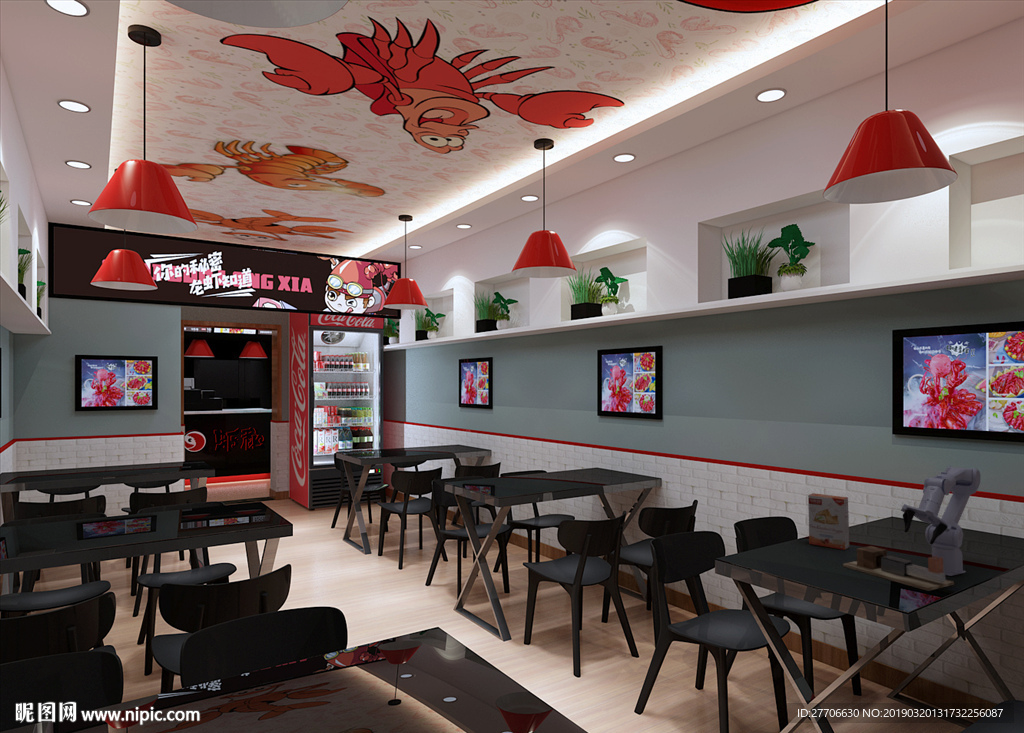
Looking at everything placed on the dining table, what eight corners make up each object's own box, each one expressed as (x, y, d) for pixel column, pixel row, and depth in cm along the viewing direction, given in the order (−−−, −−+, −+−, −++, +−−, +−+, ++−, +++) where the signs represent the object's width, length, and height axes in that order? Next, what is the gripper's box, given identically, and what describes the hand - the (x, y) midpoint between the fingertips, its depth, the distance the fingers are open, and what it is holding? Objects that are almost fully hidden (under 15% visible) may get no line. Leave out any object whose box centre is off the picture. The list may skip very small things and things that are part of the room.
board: (867, 561, 227) (867, 558, 227) (953, 584, 200) (953, 581, 200) (842, 566, 221) (842, 563, 221) (928, 591, 194) (928, 587, 194)
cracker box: (808, 544, 253) (807, 494, 253) (813, 541, 257) (812, 492, 258) (845, 550, 243) (843, 498, 243) (849, 547, 247) (848, 496, 248)
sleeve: (889, 568, 215) (889, 555, 215) (912, 574, 208) (912, 560, 208) (881, 570, 213) (880, 556, 213) (904, 576, 206) (903, 562, 206)
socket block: (871, 562, 223) (870, 545, 223) (887, 566, 218) (886, 549, 218) (857, 565, 220) (856, 548, 220) (872, 569, 214) (872, 552, 214)
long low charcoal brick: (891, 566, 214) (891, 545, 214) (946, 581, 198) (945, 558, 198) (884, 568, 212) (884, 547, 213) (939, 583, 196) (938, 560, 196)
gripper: (911, 490, 208) (899, 520, 202) (958, 511, 202) (948, 543, 195) (903, 499, 214) (892, 529, 207) (950, 520, 207) (939, 552, 201)
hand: (919, 536), depth 202 cm, fingers open, 7 cm apart
